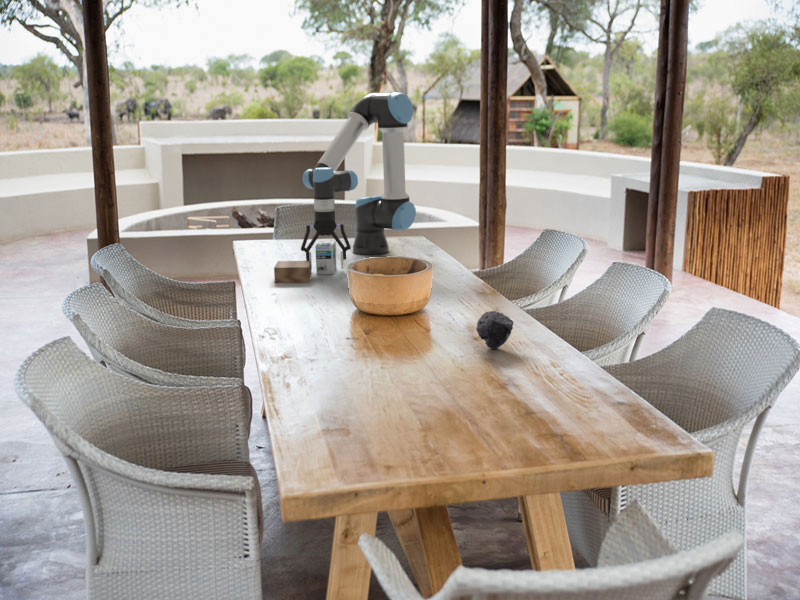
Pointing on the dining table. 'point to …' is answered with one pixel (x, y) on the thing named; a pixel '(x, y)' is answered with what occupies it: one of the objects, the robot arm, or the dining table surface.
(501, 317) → the pumice stone
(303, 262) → the walnut block
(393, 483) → the dining table surface
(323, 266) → the light bulb box
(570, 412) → the dining table surface
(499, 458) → the dining table surface
